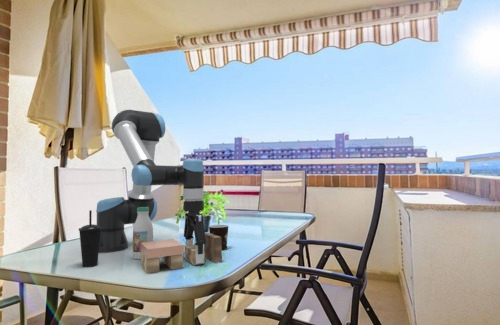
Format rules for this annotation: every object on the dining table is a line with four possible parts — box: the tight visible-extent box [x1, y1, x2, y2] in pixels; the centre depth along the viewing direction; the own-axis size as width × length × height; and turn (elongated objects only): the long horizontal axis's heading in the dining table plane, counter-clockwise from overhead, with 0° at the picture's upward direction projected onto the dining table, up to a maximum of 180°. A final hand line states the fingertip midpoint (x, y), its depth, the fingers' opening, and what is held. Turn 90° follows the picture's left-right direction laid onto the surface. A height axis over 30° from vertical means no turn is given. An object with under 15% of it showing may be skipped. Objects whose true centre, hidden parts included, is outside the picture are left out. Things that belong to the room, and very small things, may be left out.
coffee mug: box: [208, 224, 229, 251], centre depth 136 cm, size 12×9×10 cm
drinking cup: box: [78, 210, 102, 268], centre depth 114 cm, size 8×8×20 cm
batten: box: [184, 244, 206, 266], centre depth 115 cm, size 11×4×5 cm, turn 29°
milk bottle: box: [132, 207, 154, 260], centre depth 125 cm, size 8×8×20 cm
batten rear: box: [140, 252, 160, 274], centre depth 107 cm, size 11×4×5 cm, turn 29°
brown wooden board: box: [203, 232, 223, 264], centre depth 119 cm, size 12×2×9 cm, turn 29°
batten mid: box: [163, 254, 184, 270], centre depth 111 cm, size 11×4×5 cm, turn 29°
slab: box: [140, 238, 185, 259], centre depth 110 cm, size 14×12×3 cm
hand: (194, 259), depth 115 cm, fingers closed on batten, 11 cm apart
